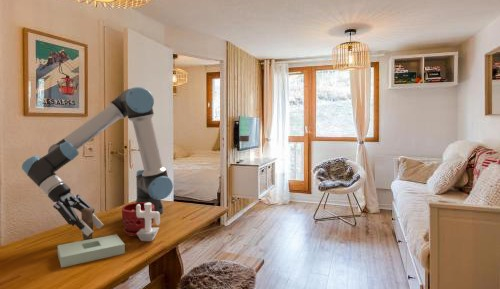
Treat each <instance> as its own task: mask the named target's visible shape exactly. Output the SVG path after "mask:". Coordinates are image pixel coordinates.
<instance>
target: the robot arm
mask: <svg viewBox="0 0 500 289" xmlns="http://www.w3.org/2000/svg"><path fill="white" fill-rule="evenodd" d="M108 103H109V104H108V106H107V107H105V108H104V109H102V111H100V112H98V113H97V114H96V115H94V116H93V117H91V118H90V119H89V120H87V121H86V122H84V123H83V124H81V125H80V126H79V127H78V128H75V129H74V130H73V131H72V132H70V133H69V134H67V135H66V136H65V137H64V138H62V139H61V140H59V141H57V142H56V143H54V144H52V145H50V147H49V148H48V150H47V154H46V155H43V156H42V157H40V156H39V155H34V156H31V157H28V158H27V159H26V160H25V161H24V162H23V163H22V164H21V170H22V171H23V172H24V173H25V174H26V176H28V177H29V179H30V180H31V181H33V183H34V184H35V185H36V186H37V187H39V189H41V190H42V192H43V193H44V194H45V195H47V197H48V198H49V199H50V200H51V201H52V202H53V203H54V204H53V206H52V207H53V208H54V209H55V210H57V212H58V213H59V214H60V215H61V217H62V218H63V219H64V220H65V222H66V223H67V225H70V226H72V227H73V226H76V227H77V228H78V229H79V230H80V231H81V232H82V231H83V232H84V234H85V235H86V236H89V235H90V234H91V233H92V232H93V231H92V229H91V228H90V227H89V226H88V225H87V224H86V223H85V222H84V221H83V220H82V218H79V216H78V215H77V212H76V211H75V209H76V210H77V211H79V212H80V213H81V209H84V208H93V226H95V228H97V229H98V230H100V229H101V228H102V227H103V226H104V225H105V224H104V223H103V222H102V221H101V219H99V218H98V216H97V215H95V212H96V209H95V208H94V207H93V206H92V205H91V204H89V203H88V202H87V201H86V200H85V199H84V198H82V196H81V195H80V194H79V193H77V194H76V195H74V194H72V193H71V190H72V189H71V188H70V187H69V186H68V185H67V184H66V183H64V180H63V179H62V178H61V177H60V176H58V175H57V173H56V172H58V170H60V169H61V168H63V167H64V166H65V165H67V164H68V163H69V162H72V161H73V160H74V159H75V158H76V157H77V156H79V154H80V152H79V149H81V148H82V147H83V146H85V145H86V144H87V143H89V142H90V141H92V139H94V138H95V137H98V135H99V134H101V133H102V132H104V131H105V130H106V129H107V128H109V127H110V126H111V125H113V124H114V123H116V122H117V121H119V120H121V119H124V118H126V117H127V119H128V120H129V121H130V122H132V126H133V128H134V133H135V138H136V143H137V146H138V150H139V155H140V160H141V162H142V167H143V169H139V170H137V171H136V175H135V178H136V200H135V202H134V203H140V202H146V203H147V202H150V203H152V204H153V205H154V211H158V212H159V213H160V215H161V214H163V213H164V206H163V203H162V200H165V199H166V198H168V197H169V196H170V195H171V193H172V192H173V188H174V184H173V181H172V179H171V178H170V177H169V175H168V172H167V168H166V167H164V166H163V164H162V159H161V156H160V150H159V147H158V143H157V138H156V132H155V129H154V124H153V120H152V118H153V116H154V115H155V113H154V109H153V107H154V104H155V99H154V96H153V94H152V93H151V92H150V90H148V89H147V88H145V87H139V86H134V87H131V88H128V89H126V90H123V91H122V92H121V93H120V94H119V95H118V96H117V97H115V98H114V99H112V101H110V102H108ZM132 211H136V210H132ZM93 233H94V232H93Z"/></svg>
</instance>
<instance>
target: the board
mask: <svg viewBox="0 0 500 289" xmlns="http://www.w3.org/2000/svg"><path fill="white" fill-rule="evenodd" d="M125 246H126V244H125V243H124V241H123V240H122V239H121V237H119V236H118V234H117V233H115V234H110V235H105V236H101V237H96V238H92V239H89V240H83V239H82V240H77V241H73V242H69V243H68V242H67V243H62V244H57V256H58V257H57V258H58V261H59V264H60V268H66V267H70V266H75V265H79V264H83V263H89V262H93V261H97V260H101V259H106V258H111V257H114V256H119V255H123V254H126V247H125Z"/></svg>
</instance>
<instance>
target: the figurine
mask: <svg viewBox="0 0 500 289" xmlns="http://www.w3.org/2000/svg"><path fill="white" fill-rule="evenodd" d="M151 207H152V205H151V203H150V202H147V203H145V204H144V208H145V211H141V205H140V204H138V205H136V216H137V218H145V228H142V229H140V230H139V231H138V232H137V233H136V234H137V235H138V236H137V237H138V238H139V240H140V241H141V242H153V240H154V239H155V238H156V235H157V233H158V232H159V229H160V227H154V226H153V227H151V218H154V220H155V225H157V226H159V225H160V224H161V214H160V213H159V212H158V211H151V209H152V208H151Z"/></svg>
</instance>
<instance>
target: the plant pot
mask: <svg viewBox="0 0 500 289" xmlns="http://www.w3.org/2000/svg"><path fill="white" fill-rule="evenodd" d="M145 203H146V202H140V203H135V202H133V203H129V204H125V205H124V206H122V208H121V217H122V218H121V219H122V223H123V225H124V228H125V229H124V233H125V234H126V235H127V236H129V237H138V235H137V234H136V233H137V232H138V231H139V230H140V229H142V228H145V218H137V216H136V211H133V210H136V205H138V204H140V205H141V211H145V208H144V204H145ZM151 205H152V207H151V208H152V209H151V211H154V205H153V204H152V203H151ZM154 220H155V218H151V227H154V226H153V223H154Z"/></svg>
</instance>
